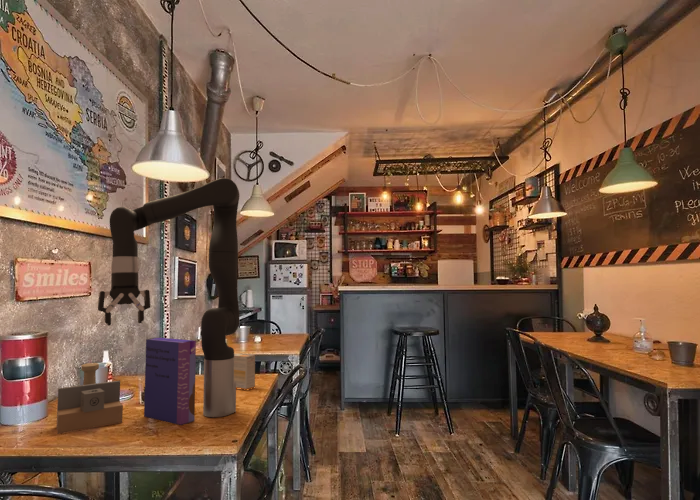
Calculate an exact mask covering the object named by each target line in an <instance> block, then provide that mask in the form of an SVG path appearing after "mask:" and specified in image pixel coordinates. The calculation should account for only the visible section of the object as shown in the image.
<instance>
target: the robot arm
mask: <svg viewBox="0 0 700 500" xmlns="http://www.w3.org/2000/svg"><path fill="white" fill-rule="evenodd" d="M239 190H240V189H239V188H238V185H237V184H236V183H235V181H233V180H232V179H230V178H228V177H220V178H217V179H215V180H213V181H210V182H207V183H206V184H203V185H201V186H199V187H195V188H193V189H190V190H188V191H183V192H181V193H178V194H175V195H170V196H167V197H161V198H158V199H155V200H151V201H147V202H145V203H143V205H142V206H140V207H136V208H133V209H130V208H129V207H125V206H119V207H116V208H115V209H113V210H112V212H110V216H109V229H110V234H111V239H112V258H111V259H112V260H111V265H110V266H111V269H110V270H111V273H110V274H111V275H110V277H111V278H110V280H111V282H110V284H111V286H110V291H104V290H101V291H99V292H98V303H97V311H99V312H103V313H104V323H105V324H106V325H107V326H112V312H111V311H112V310H113V309H114V308H115V307H116V305H120V306H121V305H132V304H133V305H134V306H135V307H136V308H137V310H138V311H137V324H142V323H143V322H144V320H145V310H148V309H151V295H150V294H151V293H150V292H151V291H150V290H149V289H144V290H143V289H142V290H140V289H139V271H140V268H139V256H138V254H139V252H138V247H139V246H138V242H137V240H136V238H135V232H136V231H139V230H142V229H144V228H146V227H148V226H151V225H153V224H157V223H161V222H164V221H165V222H166V221H168V220H172V219H175V218H178V217H181V216H182V215H185V214H188V213H189V212H192V211H194V210H197V209H200V208H204V207H210V206H212V207H213V226H212V230H211V236H210V240H209V241H210V242H209V246H208V269H209V273H210V275H211V278H212V280H213V282H214V284H215V286H216V289H217V294H218V305H217V306H218V307H213V308H209V309H207V310H205V312H204V313H203V314H202V318H201V322H200V336H201V337H200V338H201V340H200V341H201V350H202V353H203V397H202V399H203V402H202V403H203V404H202V410H203V411H202V412H203V413H202V414H203V415H202V416H205V417H207V418H221V417H225V416H229V415H231V414H234V412H235V413H236V411H237V389H236V382H235V381H234V355H235V349H234V348H233V347H231V346H229V345H228V344H227V336H231V335H233V334H234V333H236V332H237V330H238V328H239V325H240V308H239V307H240V306H239V294H238V267H239V244H238V243H239V242H238V230H237V217H238V209H239V202H240V191H239ZM140 295H141V297H142V298H143V302H144V305H142V303H141V302H140V301H139V299H138V297H139V296H140ZM108 296H110V298H111V299H112V300H111V301H110V303H109V304H108V305H107V307H105V299H107V298H108Z"/></svg>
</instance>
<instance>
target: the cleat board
mask: <svg viewBox="0 0 700 500" xmlns="http://www.w3.org/2000/svg"><path fill="white" fill-rule="evenodd" d="M99 388H101V389H102V390H103V391H104V409H101V410H95V411H90V412H83V411H82V410H81V409H80V404H81V391H86V390H93V389H99ZM120 398H121V380H112V381H107V382H106V381H105V382H97V383H96V384H88V385H83V384H82V385H73V386H67V387H58V389H57V408H56V432H57V434H58V435H60V434H64V433H71V432H77V431H81V430H87V429H93V428H98V427H103V426H109V425H115V424H120V423H123V415H124V414H123V410H124V405H123V404H122V402H121V401H120V400H121V399H120ZM59 433H60V434H59Z"/></svg>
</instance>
